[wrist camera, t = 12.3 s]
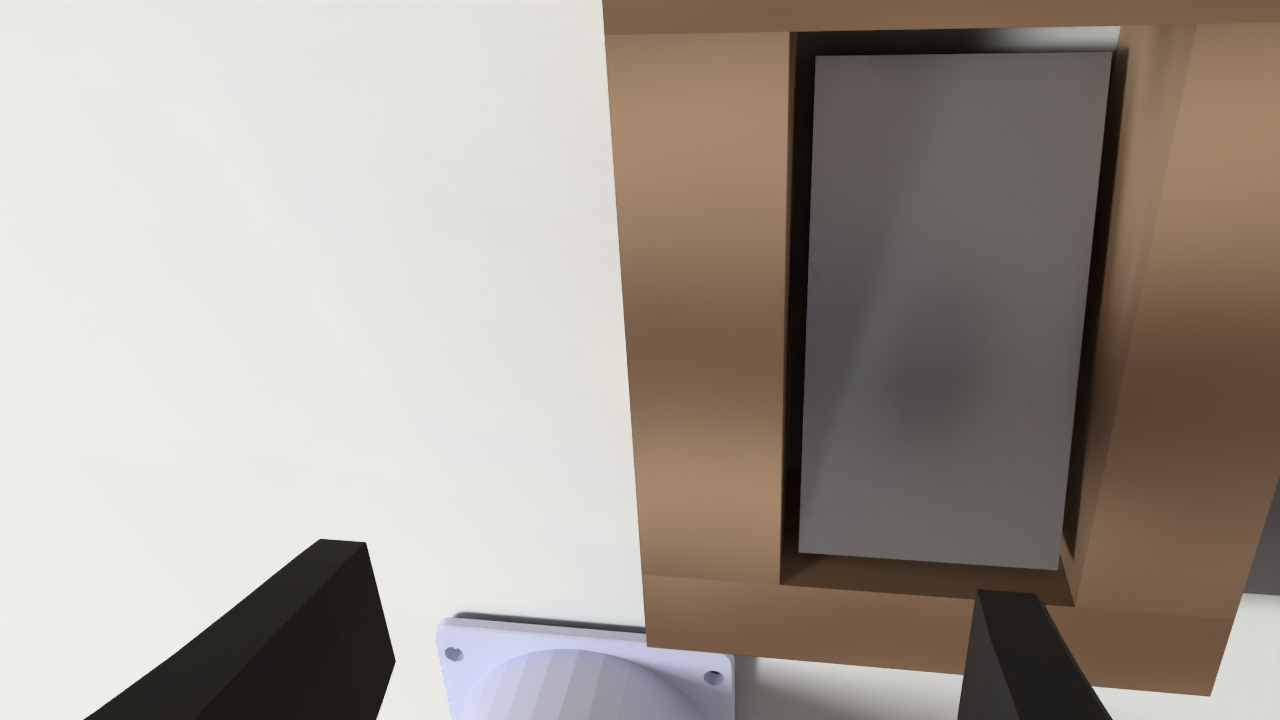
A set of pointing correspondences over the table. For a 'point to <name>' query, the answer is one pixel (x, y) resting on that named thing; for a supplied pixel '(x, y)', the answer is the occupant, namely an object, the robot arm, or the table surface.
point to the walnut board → (1109, 362)
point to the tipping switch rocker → (947, 302)
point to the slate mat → (1267, 554)
